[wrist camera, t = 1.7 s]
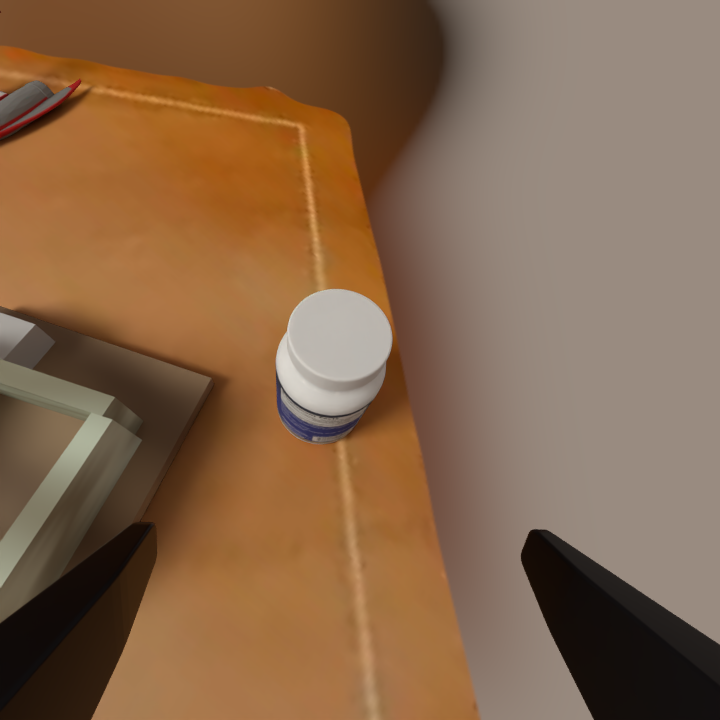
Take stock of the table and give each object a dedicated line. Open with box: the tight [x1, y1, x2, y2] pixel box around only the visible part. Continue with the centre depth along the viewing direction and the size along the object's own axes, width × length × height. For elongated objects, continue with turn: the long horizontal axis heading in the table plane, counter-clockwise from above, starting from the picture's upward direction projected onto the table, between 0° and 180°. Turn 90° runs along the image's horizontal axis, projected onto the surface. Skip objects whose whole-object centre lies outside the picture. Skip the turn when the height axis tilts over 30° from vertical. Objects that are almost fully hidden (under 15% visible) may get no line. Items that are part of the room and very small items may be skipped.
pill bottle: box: [276, 289, 392, 444], centre depth 19 cm, size 6×6×10 cm
